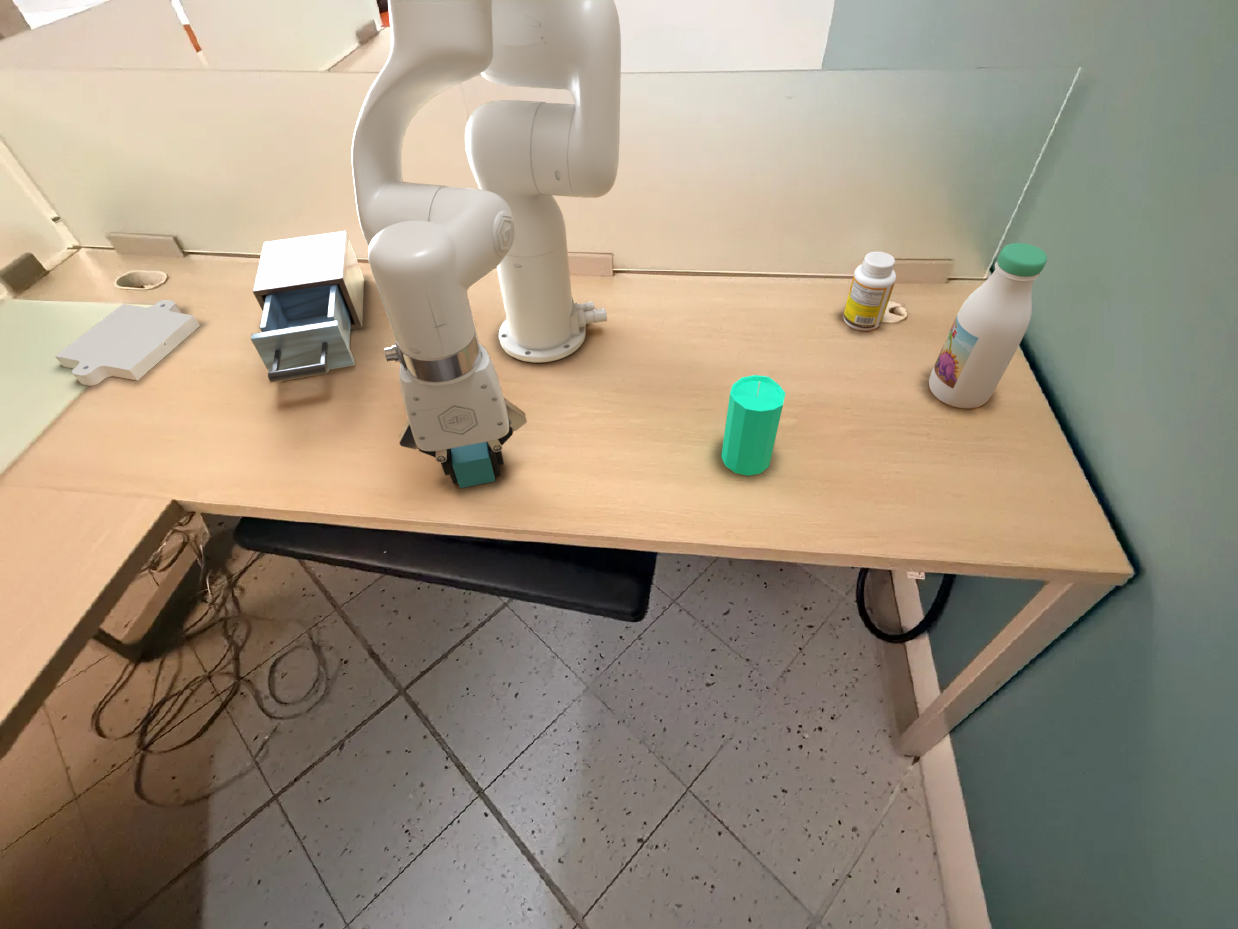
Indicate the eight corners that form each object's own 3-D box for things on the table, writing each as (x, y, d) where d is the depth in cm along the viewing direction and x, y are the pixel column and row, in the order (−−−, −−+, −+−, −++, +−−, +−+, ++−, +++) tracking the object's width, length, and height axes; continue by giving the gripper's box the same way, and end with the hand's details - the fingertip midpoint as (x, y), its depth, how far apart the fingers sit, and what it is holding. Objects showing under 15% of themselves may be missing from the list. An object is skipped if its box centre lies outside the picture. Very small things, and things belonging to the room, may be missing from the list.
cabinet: (362, 328, 98) (342, 278, 91) (278, 341, 96) (252, 291, 90) (364, 279, 107) (346, 230, 100) (287, 290, 105) (263, 241, 98)
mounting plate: (124, 392, 89) (115, 382, 88) (49, 377, 92) (39, 367, 90) (210, 316, 101) (204, 305, 99) (142, 304, 103) (135, 294, 102)
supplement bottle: (864, 306, 98) (883, 244, 91) (889, 326, 95) (910, 263, 87) (834, 315, 97) (850, 253, 89) (857, 336, 93) (876, 273, 86)
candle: (739, 482, 76) (752, 408, 67) (711, 449, 80) (720, 374, 71) (781, 464, 78) (799, 389, 69) (752, 432, 81) (766, 357, 72)
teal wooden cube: (491, 456, 80) (485, 432, 77) (495, 481, 77) (489, 457, 74) (457, 462, 79) (449, 438, 76) (459, 488, 77) (452, 465, 73)
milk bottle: (991, 379, 87) (1065, 242, 72) (987, 417, 82) (1064, 278, 67) (931, 365, 89) (990, 228, 74) (923, 400, 84) (984, 262, 69)
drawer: (353, 393, 87) (335, 352, 82) (267, 407, 85) (244, 367, 80) (356, 313, 99) (341, 274, 94) (281, 325, 97) (262, 286, 92)
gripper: (352, 390, 61) (405, 509, 74) (530, 359, 63) (550, 480, 77) (354, 341, 66) (404, 462, 79) (520, 314, 68) (540, 436, 82)
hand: (475, 470), depth 78 cm, fingers closed on teal wooden cube, 4 cm apart
